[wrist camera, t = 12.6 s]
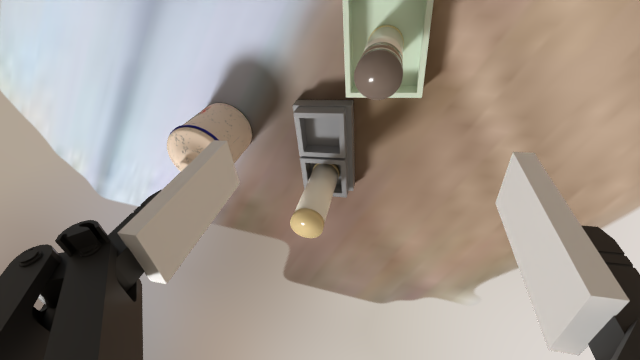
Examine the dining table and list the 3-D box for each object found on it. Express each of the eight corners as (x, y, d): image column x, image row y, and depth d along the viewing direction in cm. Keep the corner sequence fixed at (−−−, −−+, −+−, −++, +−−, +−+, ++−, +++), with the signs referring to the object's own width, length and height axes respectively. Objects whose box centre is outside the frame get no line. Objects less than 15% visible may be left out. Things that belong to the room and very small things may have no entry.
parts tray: (346, -9, 33) (342, -7, 30) (433, -16, 31) (435, -14, 28) (349, 89, 39) (345, 97, 37) (420, 88, 37) (421, 97, 35)
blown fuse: (367, 25, 34) (353, 52, 25) (404, 23, 33) (404, 50, 24) (367, 62, 36) (354, 100, 27) (402, 61, 35) (401, 100, 26)
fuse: (312, 158, 45) (287, 212, 35) (339, 160, 44) (321, 215, 35) (315, 180, 47) (292, 236, 38) (340, 182, 46) (323, 239, 37)
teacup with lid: (206, 89, 44) (154, 124, 35) (261, 118, 45) (224, 159, 36) (194, 148, 52) (150, 189, 43) (242, 172, 53) (208, 217, 43)
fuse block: (296, 99, 42) (288, 111, 39) (353, 100, 40) (348, 112, 37) (307, 179, 50) (301, 194, 47) (354, 183, 48) (351, 198, 45)
